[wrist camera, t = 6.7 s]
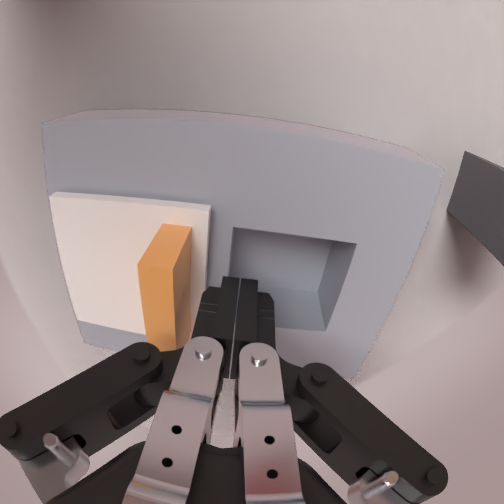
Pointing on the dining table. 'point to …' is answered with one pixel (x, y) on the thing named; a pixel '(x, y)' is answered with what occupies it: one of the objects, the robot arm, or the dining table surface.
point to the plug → (480, 202)
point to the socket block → (266, 213)
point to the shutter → (134, 262)
